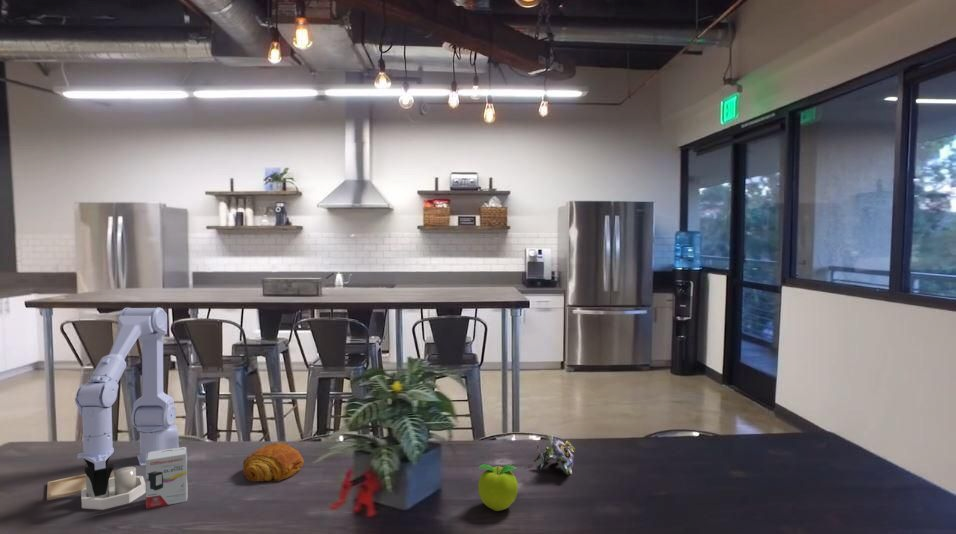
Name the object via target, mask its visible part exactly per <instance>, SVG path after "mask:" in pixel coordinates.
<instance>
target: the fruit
mask: <svg viewBox="0 0 956 534" xmlns="http://www.w3.org/2000/svg"><path fill="white" fill-rule="evenodd" d="M477 468H478V469H485V471H483V472H482V474H481V475H480V476H479V479H478V485H477V486H478V487H477V488H478V494H479V498H480V499H481V501H482V502H483V504H484V505H485V506H486V507H487V508H489V509H491V510H492V511H496V512H501V511H504V510H507V509H508V508H509V507H511V505H512V504H513V503H514V502H515V500H516V498H517V495H518V487H519V486H518V481H517V478H516V476H515V475H514V473H513V472H512V471H513V470H515V469H517V467H516V466H513V465H510V464H509V465H508V464H506V465H504V466H503V467H502V466H499V465H497V466H494V467H493V466H492V465H490V464H484V463H483V464H480V465H479V466H478V467H477Z"/></svg>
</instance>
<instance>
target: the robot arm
mask: <svg viewBox="0 0 956 534" xmlns="http://www.w3.org/2000/svg"><path fill="white" fill-rule="evenodd" d="M117 326H118V329H119V330H118V332H117V335H116V337H115V339H114V341H113V344H112V346H111V348H110V350H109V351H110V352H109V353H108V354H107V355H104V356H102V357H101V358H100V360H99V362H98V363H97V366H95V369H94V371H93V373H91V376H90V378H89V380H88V381H87V382H86V383H84V384H82V385H81V386H79V388H78V389H77V392H76V393H75V394H76V395H75V398H74V402H75V405H76V406H77V408H78V413H79V415H80V416H81V417H82V418H81V419H82V420H81V422H82V448H83V449H82V452H79V453H77V457H76V458H77V459H78V460H80V459H83V460H84V461H85V463H86V465H87V467H84V473H85V474H86V475H87V476H88V477H89V479H90V481H91V484H92V489H93V493H94V495H95V497H96V496H100V495H105V494H106V491H107V487H108V481H109V477H110V474H111V472H112V470H113V471H114V468H115V463H108V462H109V460H110V458H111V456H112V455H113V453H114V451H115V448H114V447H113V445H114V443H113V417H112V416H113V412H112V410H113V409H112V408H113V407H112V405H114V403H115V402H116V400H117V398H118V390H119V387H120V386H119V385H120V384H119V381H120V379H121V378H122V376H123V373H124V371H125V370H126V367H127V361H125V359H126V358H127V356H128V354H129V352H130V351H131V350H132V348H133V347H134V345H135V343H136V342H137V340H138V339H139V340H141V355H142V356H141V365H142V366H141V372H142V375H141V376H142V377H141V378H142V379H141V381H142V383H141V385H142V386H141V387H142V389H141V391H142V394H141V395H142V396H140V397H139V398H137V399H136V400H135V401H134V402H133V407H132V412H131V415H130V422H131V424H132V426H133V427H134V428H136V431H137V432H139V454H138V455H137V456H136V457H137V459H138V463H139V466H141V467H143V466H146V454H147V453H149V452H152V451H159V450H166V449H173V448H180V445H179V443H180V442H179V430H178V425H177V424H174V423H175V421H176V418H177V409H176V406H175V400H174V398H173V397H171V396H170V395H169V394H167V393H165V391H164V336H166V335H167V334H168V314H167V312H166V311H165V310H164V309H163V308H162V307H124V308H123V309H122V310H121V312H120V313H119V316H118V319H117Z"/></svg>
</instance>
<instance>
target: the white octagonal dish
mask: <svg viewBox="0 0 956 534" xmlns="http://www.w3.org/2000/svg"><path fill="white" fill-rule="evenodd" d="M144 494H146V480H145V478H144V476H143V475H136V488H134V489H132V490H131V491H129V492H127V493H124V494H120V495H115V479H114V477H113V478H109V497H107V498H92V497H86V488H84V489H82V490H81V493H80V497H81V498H80V501H81V509H88V510H102V511H103V510H107V509H111V508H114V507H118V506H123V505H126V504H129V503H131V502H134V501H135V500H136V499H138V498H140V497H142V496H143V495H144Z"/></svg>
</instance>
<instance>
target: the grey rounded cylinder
mask: <svg viewBox="0 0 956 534" xmlns="http://www.w3.org/2000/svg"><path fill="white" fill-rule="evenodd" d="M113 472H114V479H115V495H120V494H124V493H127V492H129V491H131V490H132V489H134V488H136V476H137V468H136V467H135V466H126V467H125V466H124V467H121V468H119V469H117V470H115V471H113Z"/></svg>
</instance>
